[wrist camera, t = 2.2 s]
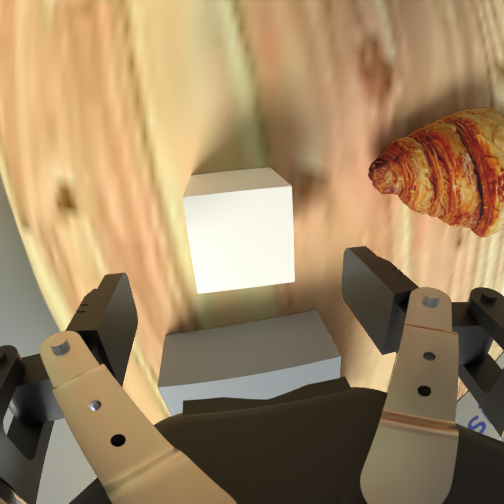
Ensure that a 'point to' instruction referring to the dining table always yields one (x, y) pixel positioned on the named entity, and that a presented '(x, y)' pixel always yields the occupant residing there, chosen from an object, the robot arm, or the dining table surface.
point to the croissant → (449, 170)
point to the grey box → (247, 360)
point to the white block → (240, 229)
